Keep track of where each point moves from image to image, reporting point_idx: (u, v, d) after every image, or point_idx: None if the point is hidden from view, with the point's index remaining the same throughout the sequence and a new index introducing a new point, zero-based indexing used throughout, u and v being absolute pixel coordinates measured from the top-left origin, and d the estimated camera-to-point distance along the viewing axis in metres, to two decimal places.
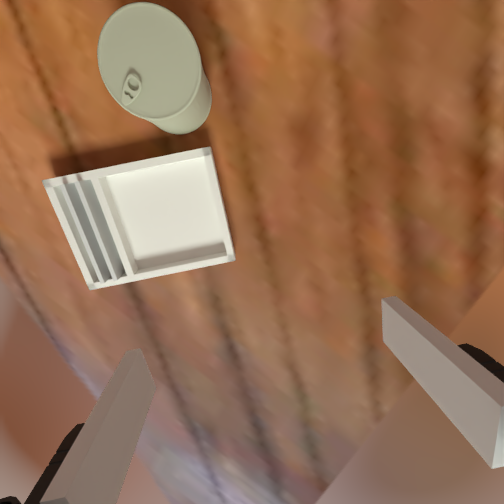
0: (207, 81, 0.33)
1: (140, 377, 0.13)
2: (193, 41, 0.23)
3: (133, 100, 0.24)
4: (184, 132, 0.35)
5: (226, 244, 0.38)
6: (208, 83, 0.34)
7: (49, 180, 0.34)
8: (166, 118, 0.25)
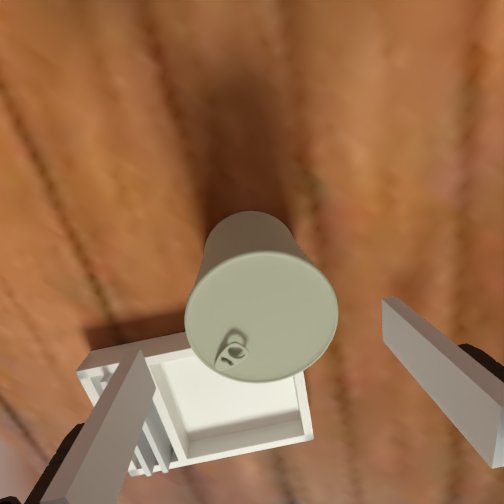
0: None
1: (140, 377, 0.13)
2: (332, 294, 0.15)
3: (232, 365, 0.16)
4: None
5: (305, 424, 0.30)
6: None
7: (85, 371, 0.26)
8: (277, 380, 0.17)
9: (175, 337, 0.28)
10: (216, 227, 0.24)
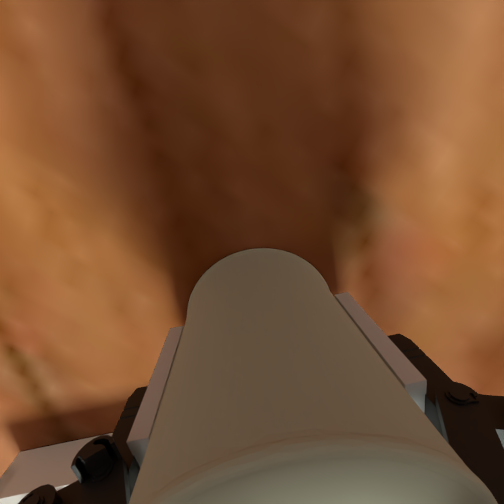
0: None
1: None
2: None
3: None
4: None
5: None
6: None
7: None
8: None
9: None
10: (206, 275, 0.15)
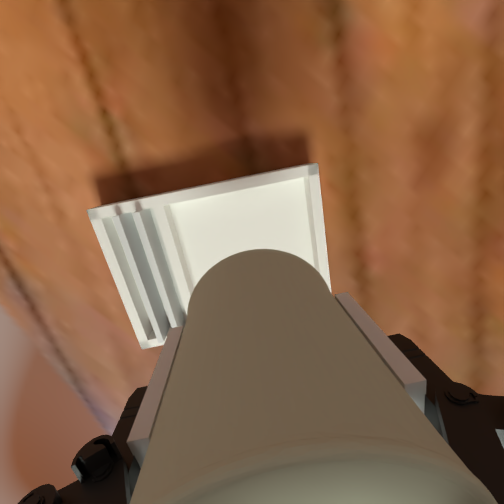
0: None
1: None
2: None
3: None
4: None
5: None
6: None
7: (97, 210, 0.25)
8: None
9: (190, 187, 0.27)
10: (206, 276, 0.15)
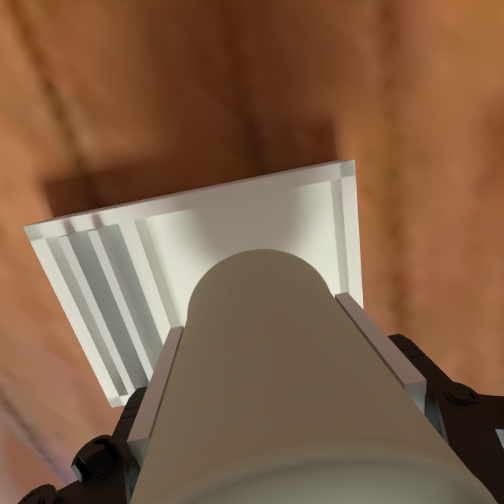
0: None
1: None
2: None
3: None
4: None
5: None
6: None
7: (38, 226, 0.17)
8: None
9: (173, 193, 0.19)
10: (206, 276, 0.15)
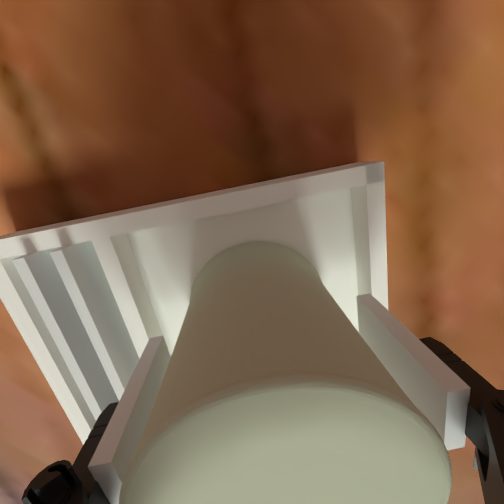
0: None
1: (164, 362, 0.14)
2: (444, 460, 0.07)
3: None
4: None
5: None
6: None
7: None
8: None
9: (161, 203, 0.16)
10: (207, 266, 0.16)
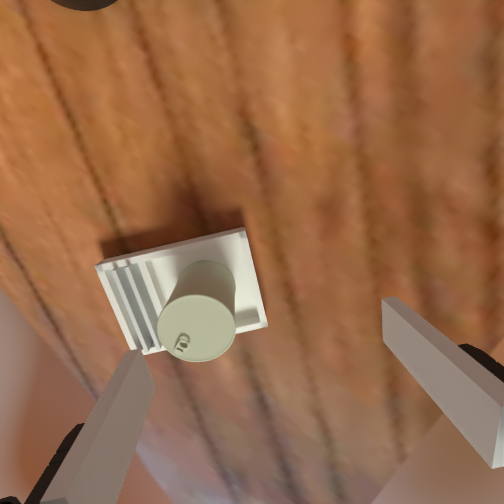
0: (232, 280, 0.40)
1: (140, 377, 0.13)
2: (230, 314, 0.30)
3: (183, 352, 0.31)
4: None
5: (259, 312, 0.41)
6: (233, 279, 0.41)
7: (101, 265, 0.37)
8: None
9: (163, 246, 0.39)
10: (183, 271, 0.40)
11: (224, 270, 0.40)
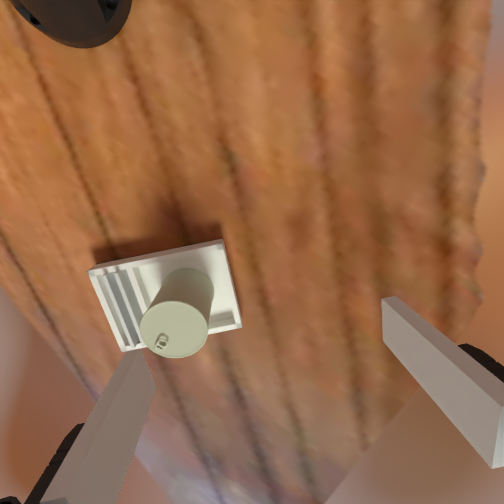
0: (211, 286, 0.45)
1: (140, 377, 0.13)
2: (202, 318, 0.35)
3: (162, 349, 0.36)
4: None
5: (235, 315, 0.46)
6: (212, 285, 0.46)
7: (93, 271, 0.42)
8: (184, 356, 0.37)
9: (149, 254, 0.44)
10: (166, 277, 0.45)
11: (203, 277, 0.44)
